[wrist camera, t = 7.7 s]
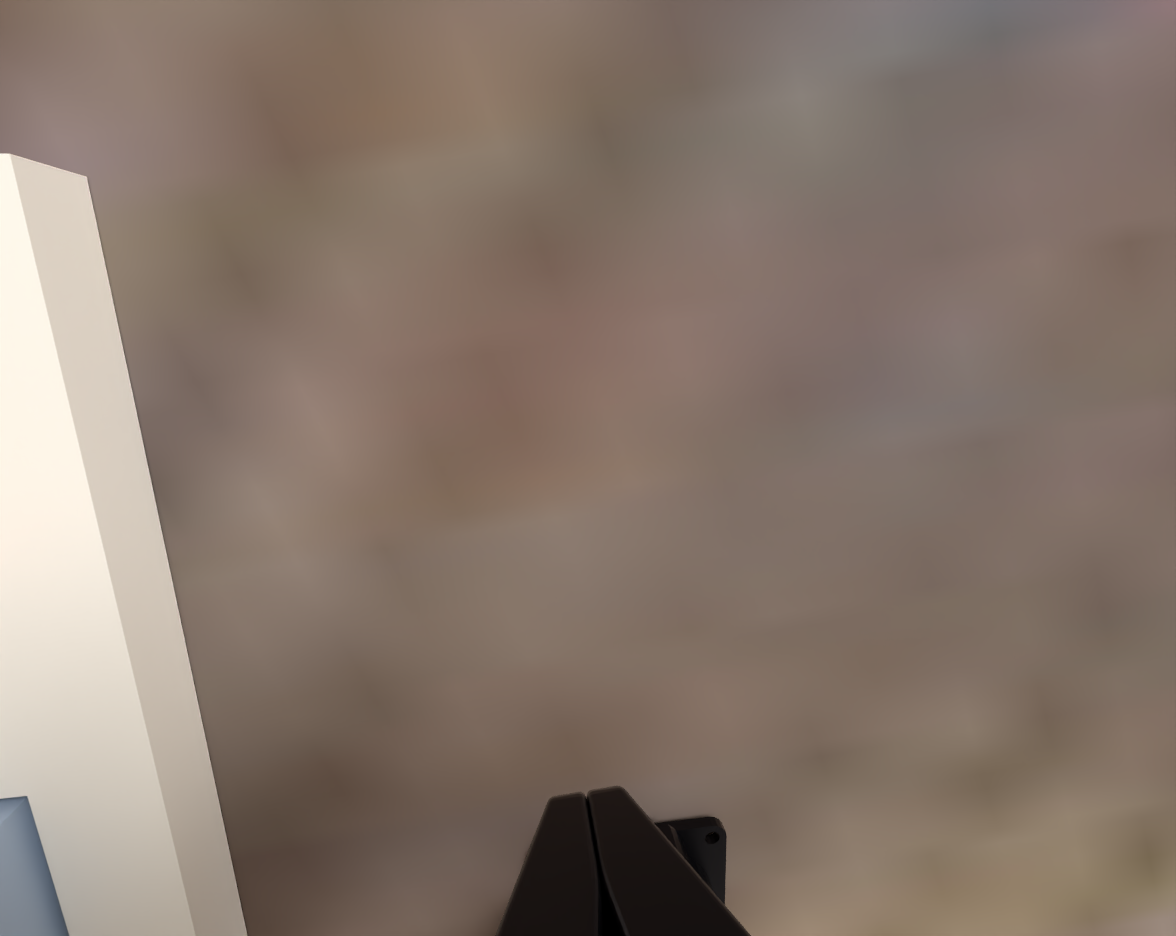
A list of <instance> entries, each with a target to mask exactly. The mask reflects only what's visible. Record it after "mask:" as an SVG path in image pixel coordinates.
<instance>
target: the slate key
mask: <svg viewBox="0 0 1176 936" xmlns="http://www.w3.org/2000/svg"><path fill="white" fill-rule="evenodd" d="M0 936H69V933H68V930H67V926H66V923H65V920H64V916H63V913H62V910H61V906H60V903H59V900H58V896H57V893H56V890H55V886H54V883H53V880H52V877H51V873H50V870H49V867H48V863H47V860H46V857H45V853H44V850H43V847H42V843H41V840H40V837H39V833H38V830H37V827H36V823H35V820H34V817H33V813H32V810H31V807H30V803H29V800H28V797H27V796H22V797H12V798H3V799H0Z"/></svg>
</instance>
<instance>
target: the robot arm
mask: <svg viewBox="0 0 1176 936" xmlns="http://www.w3.org/2000/svg"><path fill="white" fill-rule="evenodd" d="M710 832H714V833H713V834H710V835H707V834H708V833H710ZM725 871H726V832H725V829H724V827H723V825H722V822H721V821H720V820H719V819H717V818H715V817H705V818H697V819H689V820H681V821H673V822H665V823H657V824H654V823H653V821H652V820H651V819H650V818H649V817H648V816H647V815H646V813H645V812H644V811H643V810H642V809H641V808H640V806H639V805H638V804H637V803H636V802H635V801H634V799H633V798H632V797H631V796H630V795H629V794H628V792H627V791H626V790H625V789H624V788H622V787H620V786H613V787H607V788H600V789H594V790H591V791H589V792H588V794H587V799H586V796H585V795H584V793H582V792H576V793H570V794H564V795H558V796H553V797H551V798H550V799H549V801H548V802H547V805H546V807H545V810H544V812H543V815H542V817H541V820H540V823H539V825H538V828H537V830H536V833H535V835H534V838H533V840H532V843H531V846H530V848H529V851H528V853H527V856H526V858H525V861H524V864H523V866H522V869H521V871H520V874H519V876H518V879H517V882H516V884H515V887H514V889H513V892H512V894H511V897H510V899H509V902H508V905H507V907H506V910H505V912H504V915H503V917H502V920H501V923H500V925H499V928H498V930H497V933H496V935H495V936H751V935H750V934H749V933H748V932H747V931H746V929H745V928H744V927H743V926H742V925H741V924H740V922H739V921H738V920H737V919H736V918H735V917H734V916H733V914H732V913H731V912H730V911H729V910H728V909H727V907H726V906H725Z"/></svg>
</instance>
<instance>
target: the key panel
mask: <svg viewBox="0 0 1176 936" xmlns="http://www.w3.org/2000/svg"><path fill="white" fill-rule="evenodd" d="M22 796H27V797H28V800H29V803H30V807H31V810H32V813H33V817H34V820H35V823H36V827H37V830H38V833H39V837H40V840H41V843H42V847H43V850H44V853H45V857H46V860H47V863H48V867H49V870H50V873H51V877H52V880H53V883H54V886H55V890H56V893H57V896H58V900H59V903H60V906H61V910H62V913H63V916H64V920H65V923H66V926H67V930H68V933H69V936H247V931H246V927H245V922H244V917H243V913H242V908H241V903H240V898H239V894H238V889H237V884H236V880H235V875H234V870H233V865H232V861H231V856H230V851H229V846H228V842H227V837H226V832H225V828H224V823H223V818H222V813H221V809H220V804H219V799H218V795H217V790H216V785H215V780H214V776H213V771H212V766H211V762H210V757H209V752H208V747H207V743H206V738H205V733H204V728H203V724H202V719H201V714H200V710H199V705H198V700H197V695H196V691H195V686H194V681H193V677H192V672H191V667H190V662H189V658H188V653H187V648H186V644H185V639H184V634H183V629H182V625H181V620H180V615H179V610H178V606H177V601H176V596H175V592H174V587H173V582H172V577H171V573H170V568H169V563H168V559H167V554H166V549H165V544H164V540H163V535H162V530H161V526H160V521H159V516H158V511H157V507H156V502H155V497H154V492H153V488H152V483H151V478H150V474H149V469H148V464H147V459H146V455H145V450H144V445H143V441H142V436H141V431H140V426H139V422H138V417H137V412H136V407H135V403H134V398H133V393H132V389H131V384H130V379H129V374H128V370H127V365H126V360H125V356H124V351H123V346H122V341H121V337H120V332H119V327H118V323H117V318H116V313H115V308H114V304H113V299H112V294H111V289H110V285H109V280H108V275H107V271H106V266H105V261H104V256H103V252H102V247H101V242H100V238H99V233H98V228H97V223H96V219H95V214H94V209H93V205H92V200H91V195H90V190H89V186H88V181H87V177H85V176H82V175H79V174H75V173H72V172H69V171H65V170H62V169H59V168H55V167H52V166H49V165H45V164H42V163H39V162H35V161H32V160H29V159H25V158H22V157H19V156H15V155H12V154H0V799H3V798H12V797H22Z"/></svg>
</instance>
